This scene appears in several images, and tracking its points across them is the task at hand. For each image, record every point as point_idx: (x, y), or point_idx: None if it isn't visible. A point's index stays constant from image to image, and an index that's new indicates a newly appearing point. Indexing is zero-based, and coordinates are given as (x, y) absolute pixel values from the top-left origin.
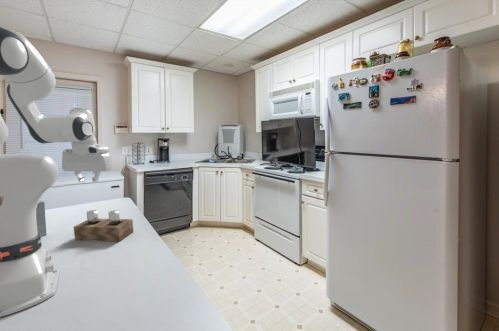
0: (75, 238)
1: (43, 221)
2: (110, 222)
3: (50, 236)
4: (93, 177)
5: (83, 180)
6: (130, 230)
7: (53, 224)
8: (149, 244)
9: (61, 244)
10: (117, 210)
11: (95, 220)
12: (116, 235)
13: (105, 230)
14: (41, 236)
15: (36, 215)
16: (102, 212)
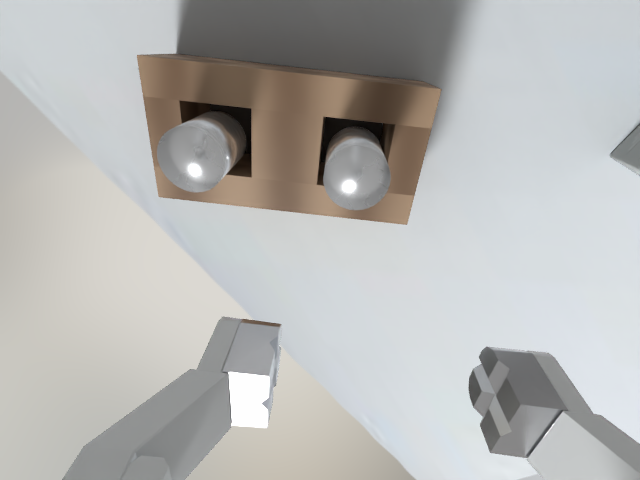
0: (420, 81)
1: None
2: (218, 116)
3: (581, 139)
4: (263, 397)
5: (476, 381)
6: None
7: (628, 281)
8: (3, 14)
9: (470, 28)
10: (186, 189)
11: (329, 146)
12: (176, 56)
13: (230, 63)
14: (629, 136)
15: None
16: (459, 384)
